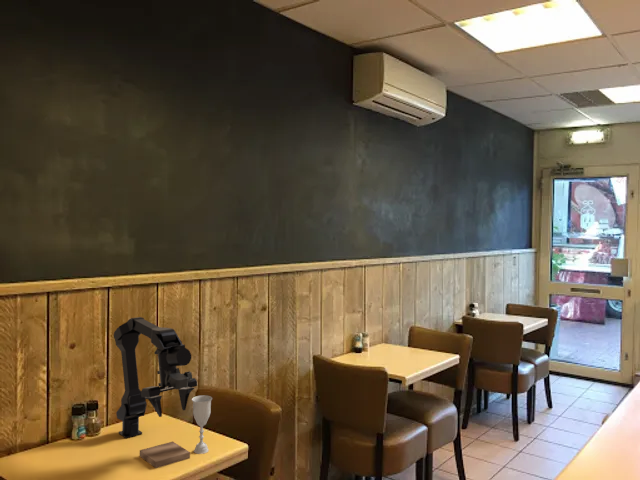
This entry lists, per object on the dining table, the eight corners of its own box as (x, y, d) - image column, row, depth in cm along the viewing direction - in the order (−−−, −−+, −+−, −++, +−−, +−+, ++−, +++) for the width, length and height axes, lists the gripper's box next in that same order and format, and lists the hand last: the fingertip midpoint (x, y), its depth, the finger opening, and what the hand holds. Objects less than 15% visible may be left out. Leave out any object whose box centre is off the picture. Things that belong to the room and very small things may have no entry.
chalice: (206, 456, 184) (207, 402, 183) (187, 453, 185) (188, 400, 185) (214, 447, 191) (215, 396, 191) (196, 445, 192) (197, 394, 192)
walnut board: (139, 456, 182) (139, 450, 182) (172, 447, 191) (172, 441, 191) (155, 468, 174) (156, 461, 174) (189, 458, 182) (190, 452, 182)
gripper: (156, 370, 174) (161, 421, 172) (204, 361, 188) (209, 407, 186) (137, 371, 181) (142, 420, 179) (185, 362, 195) (190, 407, 193)
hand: (172, 413), depth 184 cm, fingers open, 9 cm apart
